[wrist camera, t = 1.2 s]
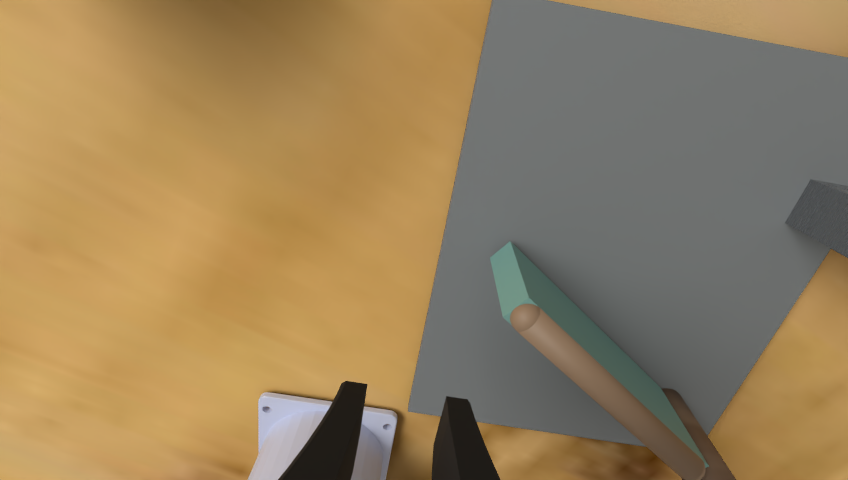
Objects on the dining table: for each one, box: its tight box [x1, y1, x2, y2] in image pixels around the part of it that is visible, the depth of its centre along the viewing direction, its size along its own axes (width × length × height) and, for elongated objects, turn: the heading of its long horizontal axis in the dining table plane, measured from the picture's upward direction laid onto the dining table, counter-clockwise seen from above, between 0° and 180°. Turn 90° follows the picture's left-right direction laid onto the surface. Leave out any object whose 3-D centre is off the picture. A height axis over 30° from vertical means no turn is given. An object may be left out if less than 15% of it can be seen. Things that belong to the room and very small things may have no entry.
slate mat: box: [408, 0, 848, 447], centre depth 20 cm, size 21×17×1 cm
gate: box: [490, 241, 709, 480], centre depth 19 cm, size 12×1×5 cm, turn 46°
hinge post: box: [662, 388, 736, 480], centre depth 21 cm, size 2×2×6 cm
